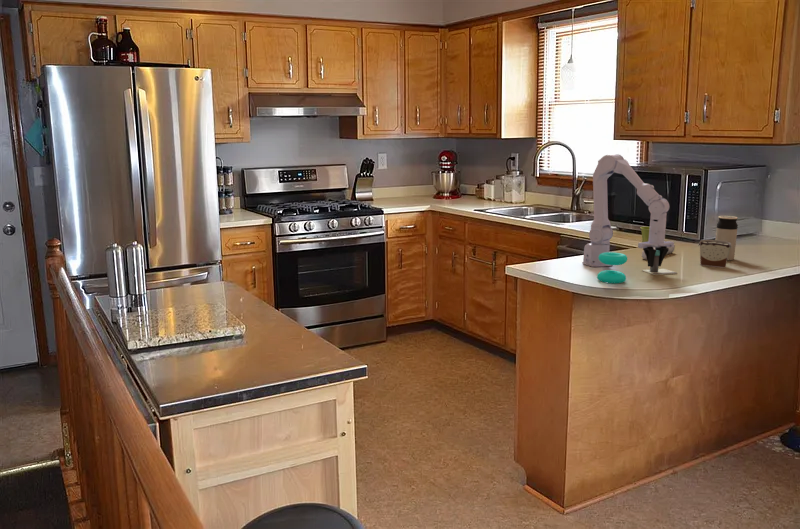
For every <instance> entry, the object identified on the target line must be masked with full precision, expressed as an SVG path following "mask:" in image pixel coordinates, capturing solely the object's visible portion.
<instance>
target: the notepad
mask: <svg viewBox="0 0 800 529" xmlns="http://www.w3.org/2000/svg"><path fill="white" fill-rule="evenodd" d="M641 272H643V273H644V272H645V273H647V274H650V275H654V276H662V275H663V276H664V275H666V276H667V275H678V272H677V271H674V270H669V269H667V268H658V272H651V271H650V269H642V270H641Z"/></svg>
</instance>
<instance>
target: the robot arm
mask: <svg viewBox="0 0 800 529" xmlns="http://www.w3.org/2000/svg"><path fill="white" fill-rule="evenodd" d="M624 158H625V157H623V156H622V155H621V154H619V153H618V154H606V155H603V156H602V157H601V158H600V159H598V160H597V165H596V166H595V167H596V168H595V169H594V172H592V186H593V187H592V189H593V192H592V193H593V195H592V196H593V197H592V198H593V220H592V222H591V224H590V230H589V232H588V237H589V239H590V243H586V244H585V245H584V248H583V258H582V259H583V261H581V263H582V264H584V265H587V266H589V267H591V268H594V267H613V266H614V265H607V264H604V263H602V262H600V260H599V258H598V257H599V255H600V254H601V253H605V252H610V247H611V246H610V245H611V244H610V243H611V241H610V240H611V239H612V238H613V236H614V230H613V228H612V223H611V221H610V219H609V210H608V209H609V208H608V206H609V205H608V204H609V203H608V202H609V201H608V179H609V177H611V176H612V175H613V174H619V175H623V177H625V179H627V180H628V182H629V183H631V185H632V186H634V188H635V189H636V195H637V196H638V197H639V198H640V199H641V200H642V201H643V203H644V204H645V205H646V206H647V207H648V211H649V213H650V220H649V227H650V229H649V241H648V242H642V241H641V242H638V243H637V248H638V249H642V251H644V252H645V255H646V258H647V260H646V261H647V266H648V267H649V268H650V267H653V263H654V256H655V253H656V250H659V251H660V255H659V267H661V266H662V264H663V262H664V259H665V256H666V254H667V252H668V251H669V248H667V247H674V245H675V242H674V241H672V240H671V241H665V240H666V239H665V238H666V229H667V228H666V227H667V214H668V211H669V210H670V203H669V201H668V200H667V199H666V198H664V197H663V196H662V195H661V194H659V193H658V192H657V191H656V189H655V186H654V185H653V184H650V183H645V182H644V181H643V180H642V179H641V177H640V176H639V175H638V174H637V172H636V171H635V170H634V169H633V167H632V166H631V165H630V163H629V162H628V161H627V159H624ZM654 248H655V249H656V250H654ZM667 255H668V254H667Z"/></svg>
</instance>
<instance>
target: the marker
mask: <svg viewBox="0 0 800 529" xmlns="http://www.w3.org/2000/svg"><path fill="white" fill-rule="evenodd" d="M659 255H660V251H659V250H656V253H655V256H654V263H653V267H650V266H649V270H650V271H651V272H658V269H659V267H660V266H659Z"/></svg>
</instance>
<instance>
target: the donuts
mask: <svg viewBox="0 0 800 529" xmlns="http://www.w3.org/2000/svg"><path fill="white" fill-rule="evenodd" d="M598 258H599V260H600V262H602V263H604V264H607V265H613V266H621V265H624V264H626V263H627V262H628V256H627V255H626V254H625V253H621V252H614V251H609V252H605V253H601V254H600V255H599V257H598ZM596 278H597V280H598V281H599V280H600V281H599V282H601V281H602V283H605V282H608V283H607V284H621V283H624V282H625V281H626V279H627V276H626V275H625V273H623V272H622V271H619V270H613V269H612V270H611V269H606V270H605V269H604V270H601V271H599V272H598V273H597V275H596Z"/></svg>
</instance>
